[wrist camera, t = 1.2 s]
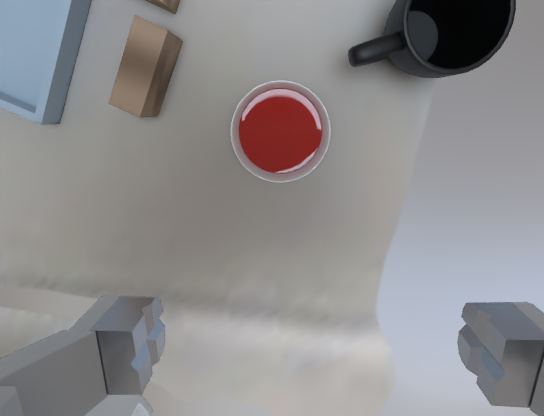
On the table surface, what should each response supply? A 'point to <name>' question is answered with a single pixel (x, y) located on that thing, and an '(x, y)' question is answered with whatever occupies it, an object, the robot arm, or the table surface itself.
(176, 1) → the socket block
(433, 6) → the mug
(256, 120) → the candle
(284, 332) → the table surface
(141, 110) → the block
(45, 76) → the tray
